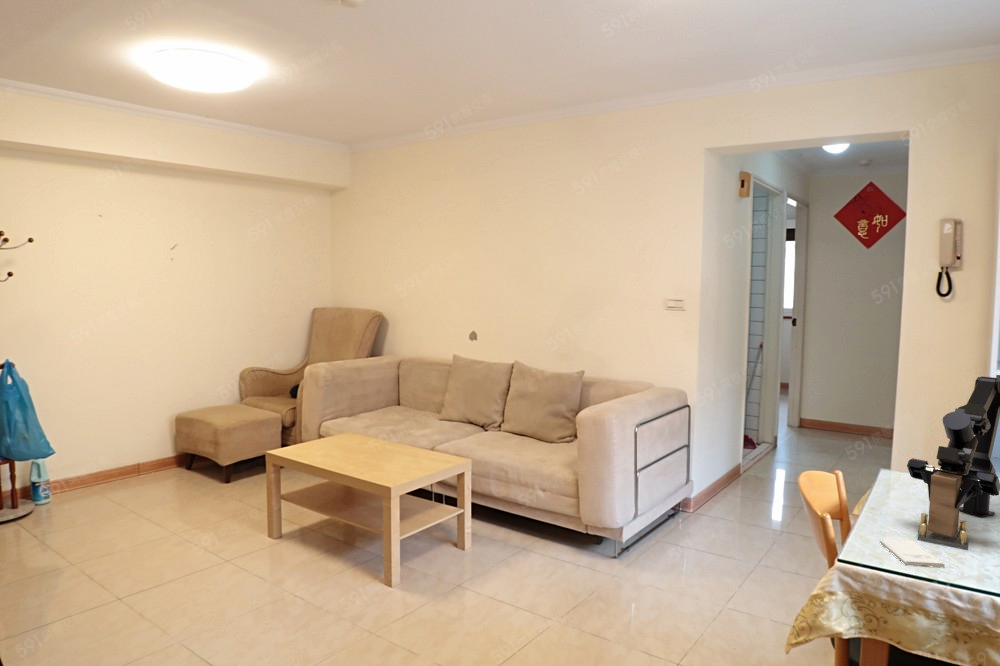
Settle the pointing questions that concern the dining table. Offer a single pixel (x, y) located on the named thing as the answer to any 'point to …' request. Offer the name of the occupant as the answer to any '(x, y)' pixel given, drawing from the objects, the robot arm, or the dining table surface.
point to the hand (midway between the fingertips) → (943, 504)
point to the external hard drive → (911, 553)
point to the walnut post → (944, 503)
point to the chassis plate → (955, 541)
